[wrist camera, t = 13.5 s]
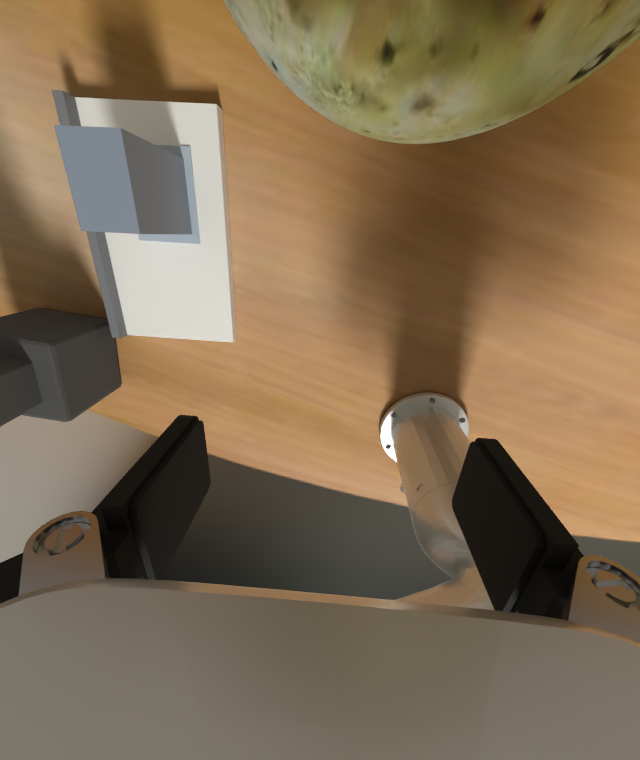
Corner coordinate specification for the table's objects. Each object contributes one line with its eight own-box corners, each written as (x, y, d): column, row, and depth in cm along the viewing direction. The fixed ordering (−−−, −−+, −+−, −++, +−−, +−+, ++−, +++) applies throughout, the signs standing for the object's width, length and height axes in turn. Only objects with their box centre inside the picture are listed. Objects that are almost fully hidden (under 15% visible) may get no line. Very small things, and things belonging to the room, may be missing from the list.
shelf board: (236, 338, 41) (229, 346, 38) (124, 330, 42) (109, 337, 39) (222, 109, 31) (210, 97, 28) (73, 102, 31) (48, 90, 29)
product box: (183, 158, 31) (120, 127, 22) (192, 234, 34) (140, 234, 25) (132, 156, 32) (50, 124, 23) (145, 232, 35) (77, 230, 26)
